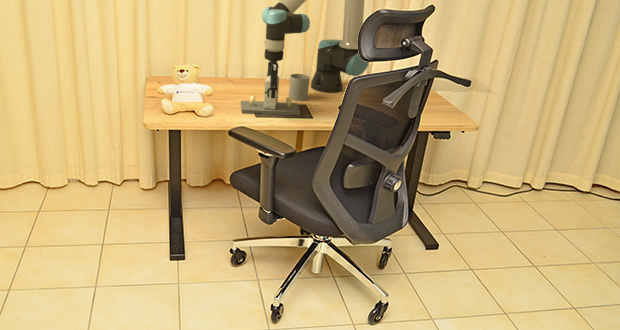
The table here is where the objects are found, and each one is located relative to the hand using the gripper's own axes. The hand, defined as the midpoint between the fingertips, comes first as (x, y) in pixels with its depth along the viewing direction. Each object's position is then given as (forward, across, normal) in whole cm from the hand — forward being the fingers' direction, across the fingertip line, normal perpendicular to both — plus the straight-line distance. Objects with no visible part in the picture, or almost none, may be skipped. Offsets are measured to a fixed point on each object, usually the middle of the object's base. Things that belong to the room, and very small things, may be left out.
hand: (270, 100), depth 250 cm
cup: (+4, -18, +14) cm, 23 cm away
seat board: (+4, 0, 0) cm, 4 cm away
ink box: (+3, 0, 0) cm, 3 cm away
